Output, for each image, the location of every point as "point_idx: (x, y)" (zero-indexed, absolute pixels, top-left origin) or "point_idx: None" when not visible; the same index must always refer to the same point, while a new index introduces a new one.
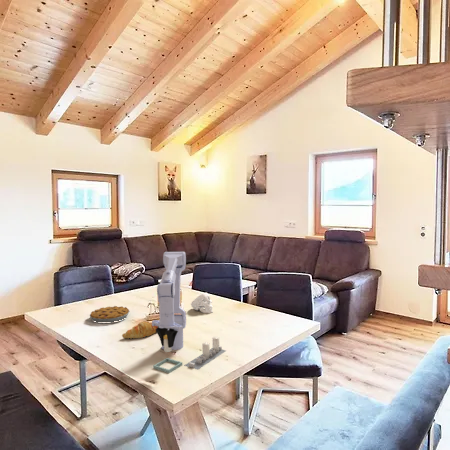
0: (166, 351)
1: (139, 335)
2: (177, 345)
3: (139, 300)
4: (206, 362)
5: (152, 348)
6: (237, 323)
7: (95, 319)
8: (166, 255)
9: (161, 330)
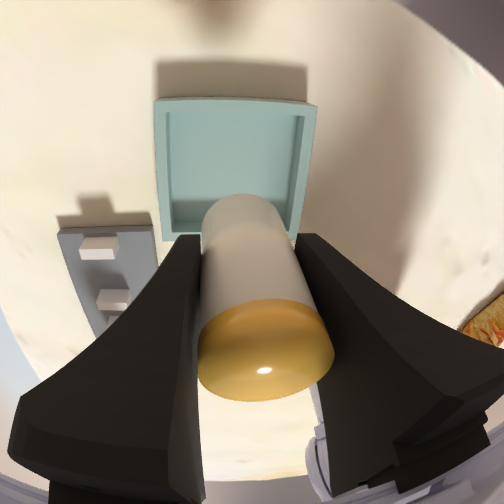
0: (227, 199)
1: (482, 320)
2: None
3: None
4: (89, 306)
5: (424, 291)
6: (241, 458)
7: None
8: None
9: (400, 425)
